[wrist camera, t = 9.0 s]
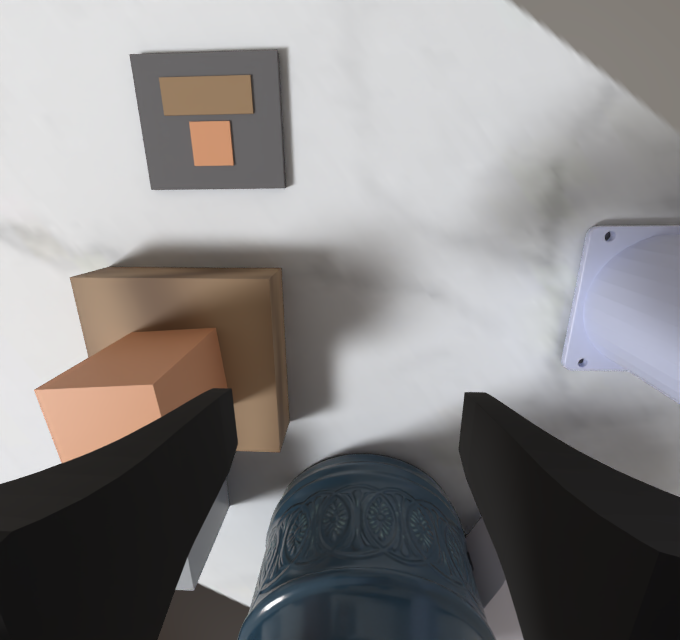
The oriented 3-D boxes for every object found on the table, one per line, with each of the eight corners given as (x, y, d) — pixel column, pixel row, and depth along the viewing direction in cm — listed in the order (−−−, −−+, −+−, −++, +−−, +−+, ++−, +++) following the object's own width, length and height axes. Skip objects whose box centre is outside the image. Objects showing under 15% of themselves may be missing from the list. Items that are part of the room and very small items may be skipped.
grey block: (223, 452, 25) (182, 528, 19) (229, 505, 26) (193, 590, 21) (158, 450, 25) (98, 525, 19) (168, 503, 27) (116, 586, 21)
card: (278, 52, 17) (276, 48, 17) (285, 188, 19) (284, 187, 19) (134, 57, 18) (128, 53, 17) (155, 189, 20) (150, 189, 19)
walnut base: (283, 266, 21) (269, 279, 18) (290, 417, 24) (280, 452, 21) (114, 265, 22) (69, 277, 18) (142, 413, 25) (109, 447, 21)
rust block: (215, 327, 19) (152, 384, 13) (230, 405, 20) (179, 487, 14) (131, 332, 19) (34, 389, 13) (151, 408, 20) (71, 489, 15)
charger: (591, 653, 29) (423, 590, 28) (669, 579, 27) (486, 505, 25) (632, 736, 25) (434, 665, 24) (732, 657, 22) (513, 571, 21)
